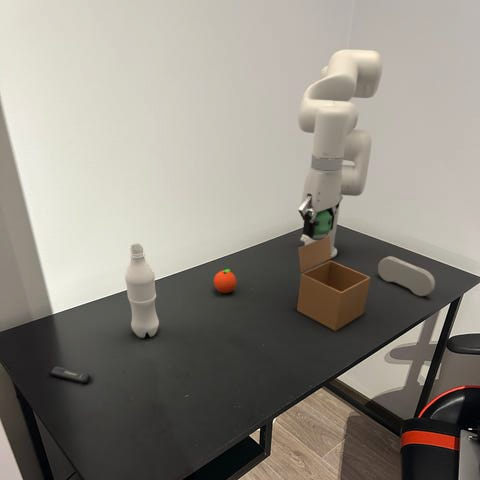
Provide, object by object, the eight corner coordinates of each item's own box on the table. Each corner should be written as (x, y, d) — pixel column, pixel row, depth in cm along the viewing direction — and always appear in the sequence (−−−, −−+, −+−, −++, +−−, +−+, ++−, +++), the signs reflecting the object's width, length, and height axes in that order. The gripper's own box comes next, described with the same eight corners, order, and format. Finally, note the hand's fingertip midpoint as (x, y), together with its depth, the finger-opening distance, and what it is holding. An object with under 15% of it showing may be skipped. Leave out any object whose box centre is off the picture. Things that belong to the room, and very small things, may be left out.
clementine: (221, 282, 144) (221, 262, 141) (241, 287, 142) (241, 267, 138) (209, 294, 138) (209, 273, 134) (230, 299, 136) (230, 278, 132)
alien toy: (310, 247, 116) (315, 209, 110) (298, 235, 122) (302, 199, 116) (335, 244, 118) (340, 207, 112) (321, 232, 124) (326, 197, 118)
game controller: (431, 298, 140) (439, 274, 135) (427, 300, 138) (434, 276, 134) (379, 274, 152) (384, 252, 147) (375, 276, 151) (380, 253, 146)
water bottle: (164, 328, 122) (157, 242, 109) (151, 342, 117) (142, 254, 103) (140, 322, 124) (130, 238, 110) (127, 337, 119) (114, 249, 105)
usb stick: (50, 376, 105) (48, 371, 104) (57, 369, 107) (56, 364, 106) (85, 385, 103) (84, 380, 102) (92, 378, 105) (91, 373, 104)
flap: (301, 271, 125) (300, 271, 125) (331, 258, 132) (330, 258, 133) (299, 248, 122) (298, 247, 122) (329, 235, 130) (328, 235, 130)
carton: (296, 310, 132) (300, 274, 125) (325, 295, 139) (330, 260, 133) (335, 331, 123) (341, 293, 117) (363, 313, 131) (370, 277, 125)
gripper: (336, 154, 116) (327, 220, 126) (290, 165, 106) (284, 235, 116) (360, 160, 111) (349, 228, 121) (314, 172, 102) (306, 245, 111)
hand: (317, 231), depth 119 cm, fingers closed on alien toy, 7 cm apart
